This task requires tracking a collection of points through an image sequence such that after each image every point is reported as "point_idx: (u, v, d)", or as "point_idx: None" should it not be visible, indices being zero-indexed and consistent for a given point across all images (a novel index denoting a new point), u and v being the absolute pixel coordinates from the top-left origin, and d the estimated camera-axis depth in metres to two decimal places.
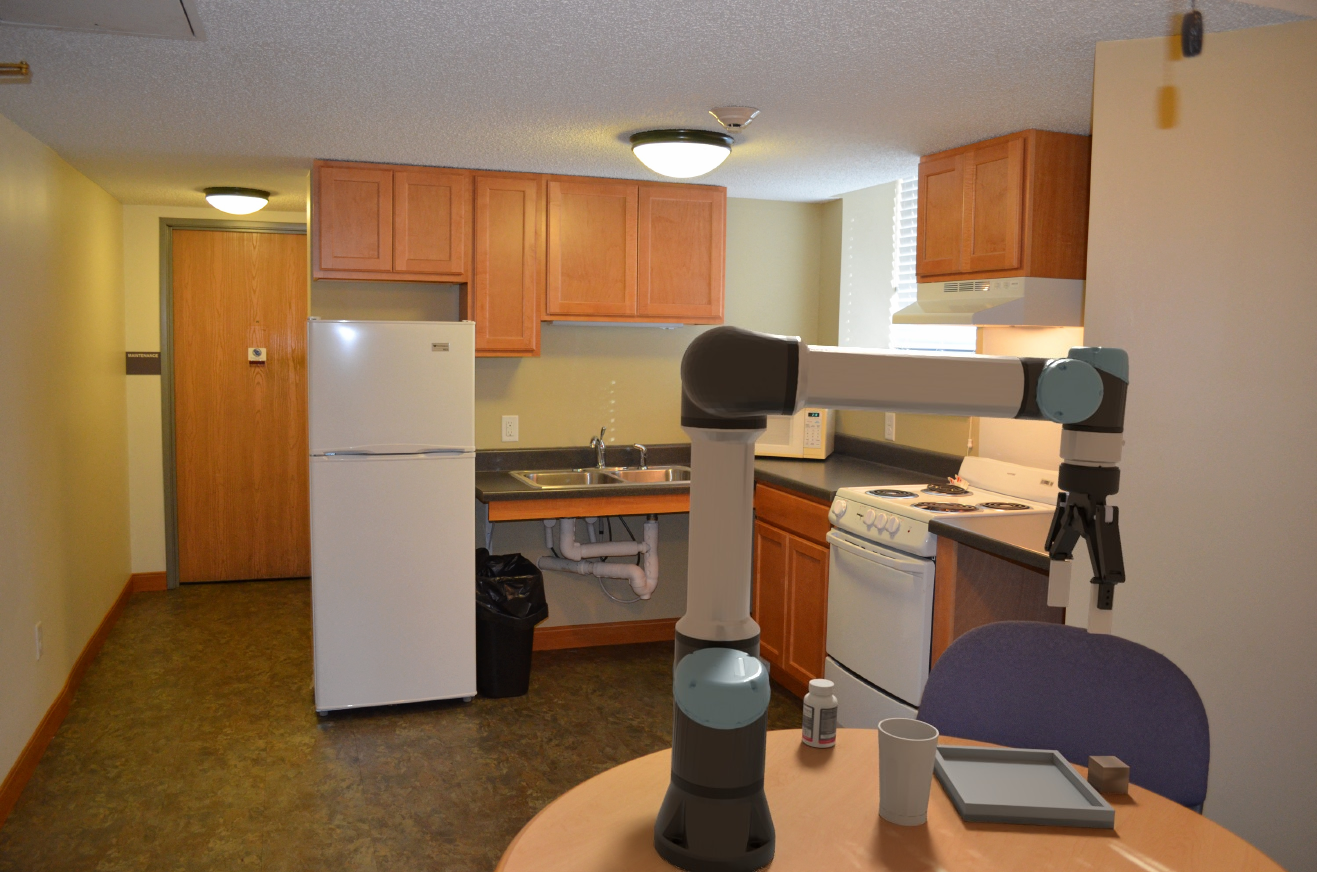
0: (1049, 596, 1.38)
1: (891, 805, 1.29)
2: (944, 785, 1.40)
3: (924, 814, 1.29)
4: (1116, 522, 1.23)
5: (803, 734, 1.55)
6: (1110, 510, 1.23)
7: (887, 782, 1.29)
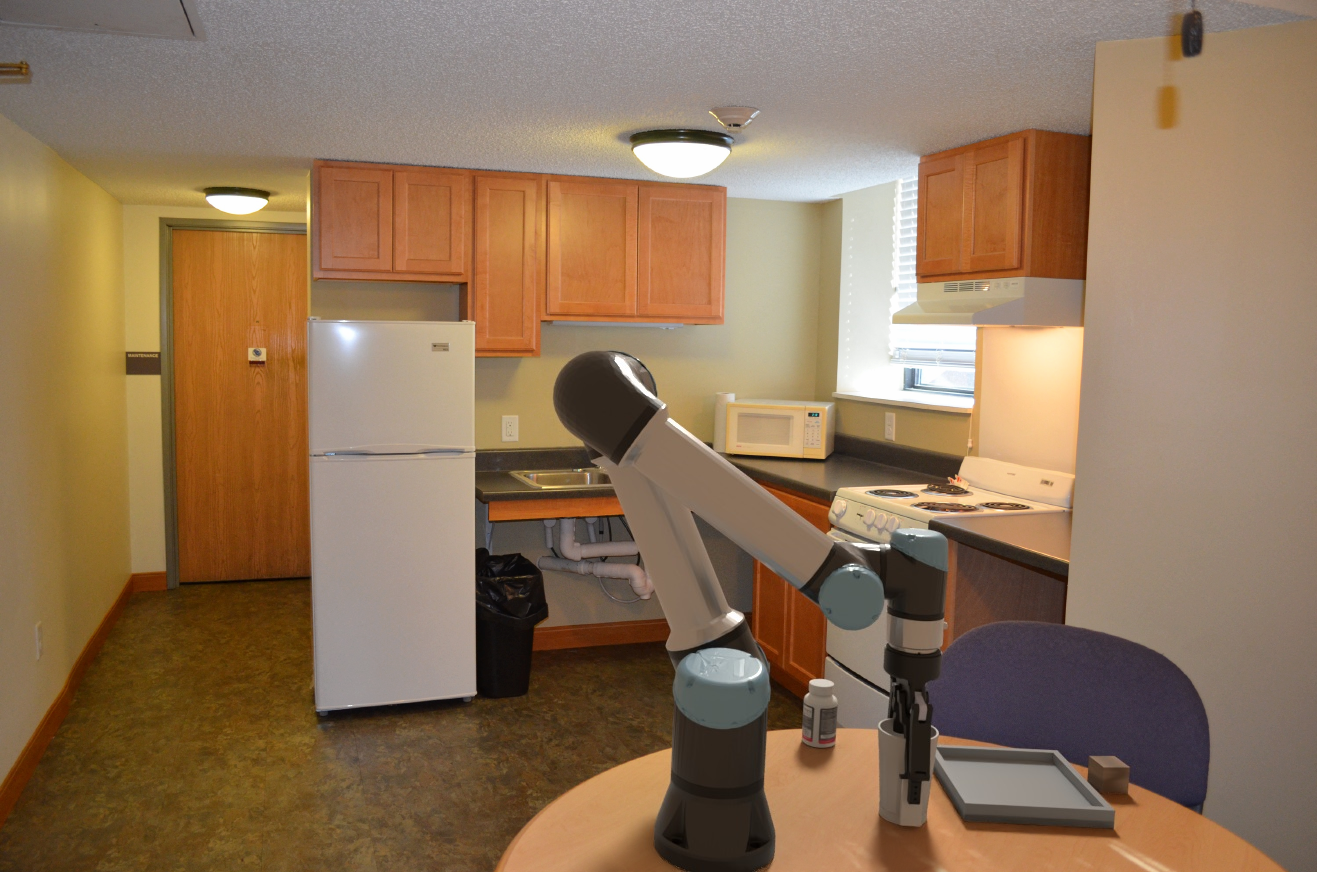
0: None
1: (891, 805, 1.29)
2: (944, 785, 1.40)
3: (924, 814, 1.29)
4: (929, 721, 1.24)
5: (803, 734, 1.55)
6: (923, 711, 1.23)
7: (887, 782, 1.29)
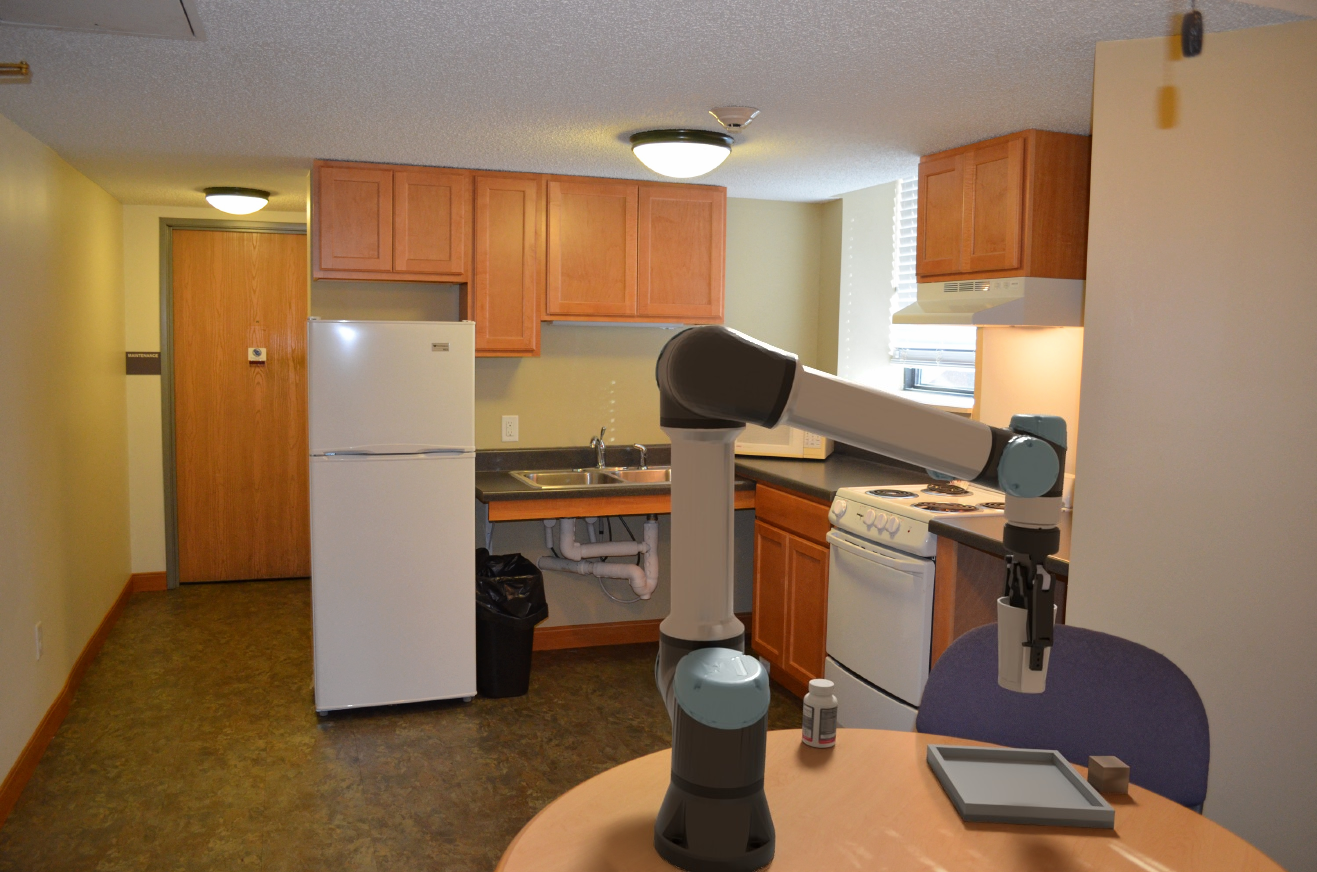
0: None
1: (1012, 674, 1.36)
2: (944, 785, 1.40)
3: (1044, 683, 1.37)
4: (1052, 590, 1.31)
5: (803, 734, 1.55)
6: (1047, 580, 1.31)
7: (1008, 653, 1.36)
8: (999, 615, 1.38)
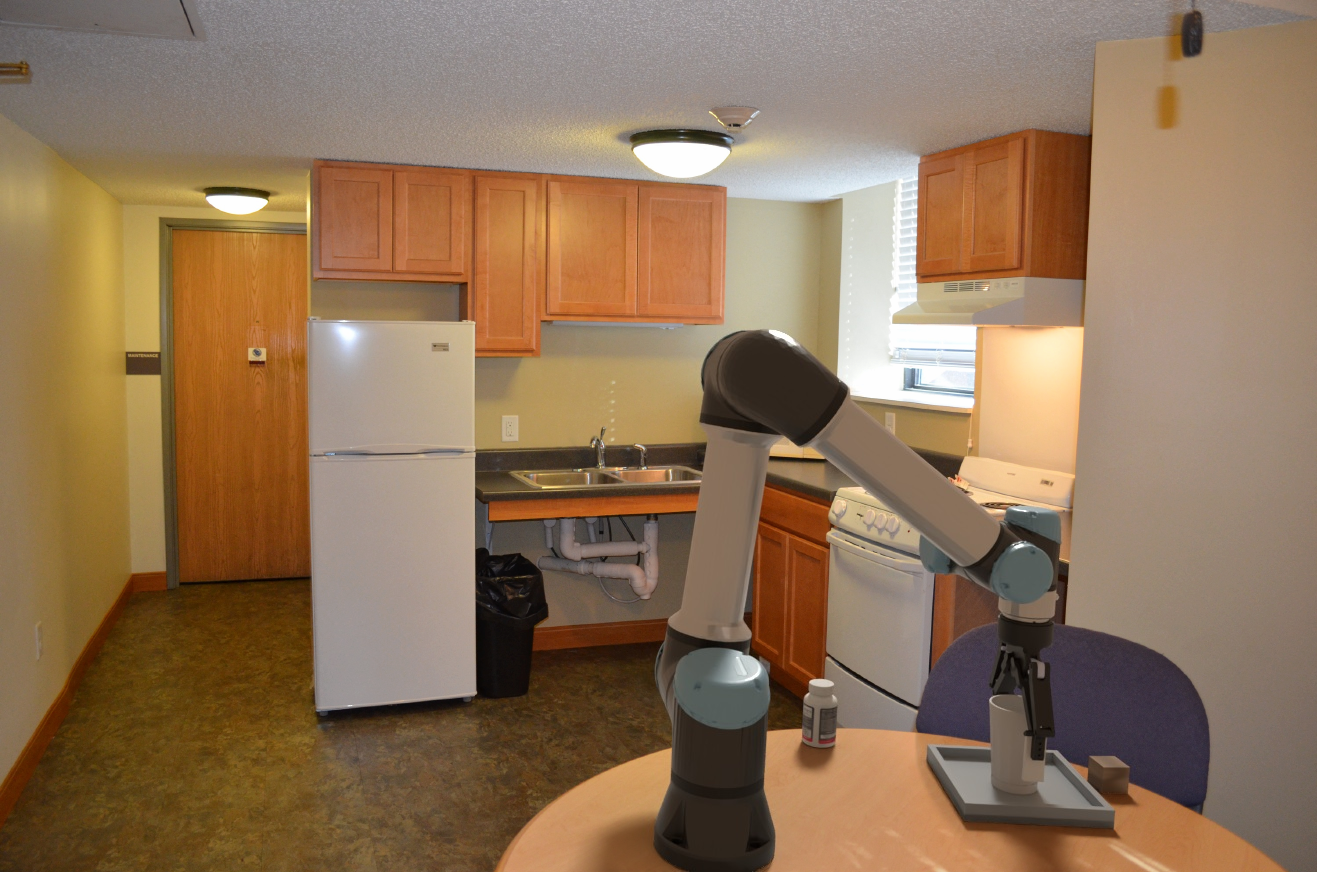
0: None
1: (1005, 775, 1.38)
2: (944, 785, 1.40)
3: (1036, 783, 1.38)
4: (1048, 678, 1.32)
5: (803, 734, 1.55)
6: (1042, 667, 1.32)
7: (1000, 754, 1.38)
8: (991, 716, 1.39)
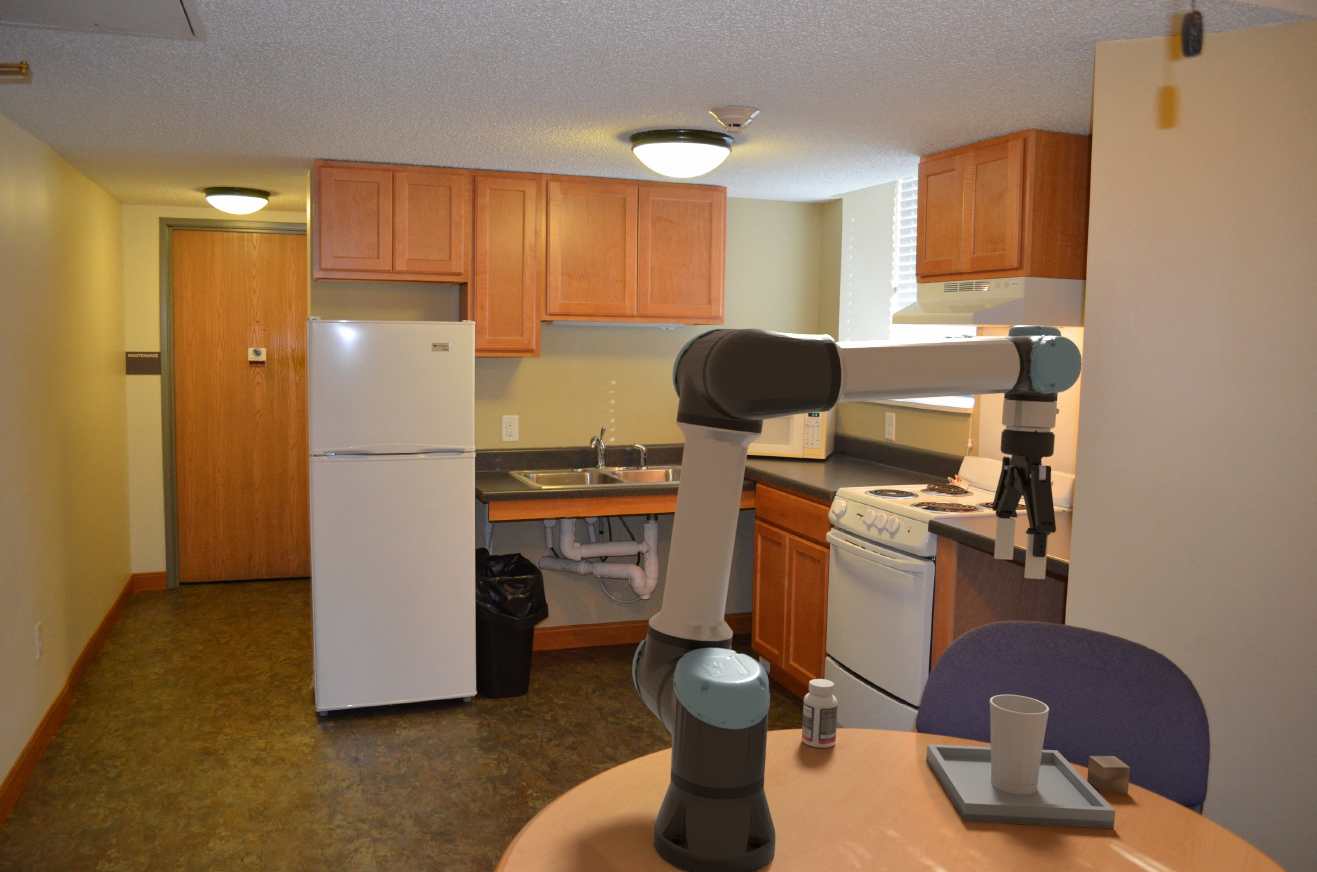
0: (996, 550, 1.54)
1: (1005, 775, 1.38)
2: (944, 785, 1.40)
3: (1036, 783, 1.38)
4: (1049, 480, 1.39)
5: (803, 734, 1.55)
6: (1043, 469, 1.40)
7: (1001, 754, 1.38)
8: (992, 716, 1.39)
